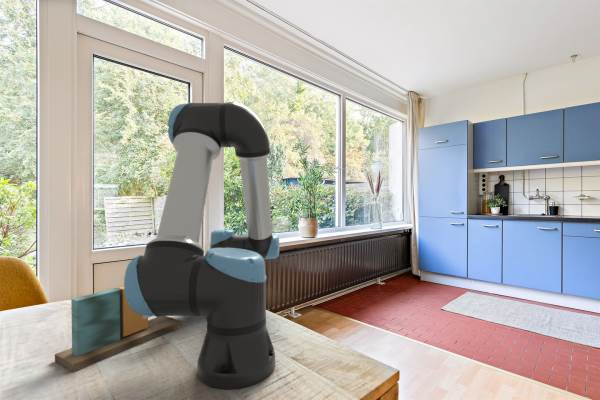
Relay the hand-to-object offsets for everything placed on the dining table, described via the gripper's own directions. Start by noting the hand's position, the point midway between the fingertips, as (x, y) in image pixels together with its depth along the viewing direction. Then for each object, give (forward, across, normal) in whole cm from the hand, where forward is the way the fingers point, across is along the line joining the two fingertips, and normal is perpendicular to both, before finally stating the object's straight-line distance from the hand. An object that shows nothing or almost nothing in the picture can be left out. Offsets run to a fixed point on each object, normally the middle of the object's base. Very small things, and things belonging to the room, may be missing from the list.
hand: (126, 307), depth 73 cm
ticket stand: (0, 0, -8) cm, 8 cm away
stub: (-1, 0, -6) cm, 6 cm away
